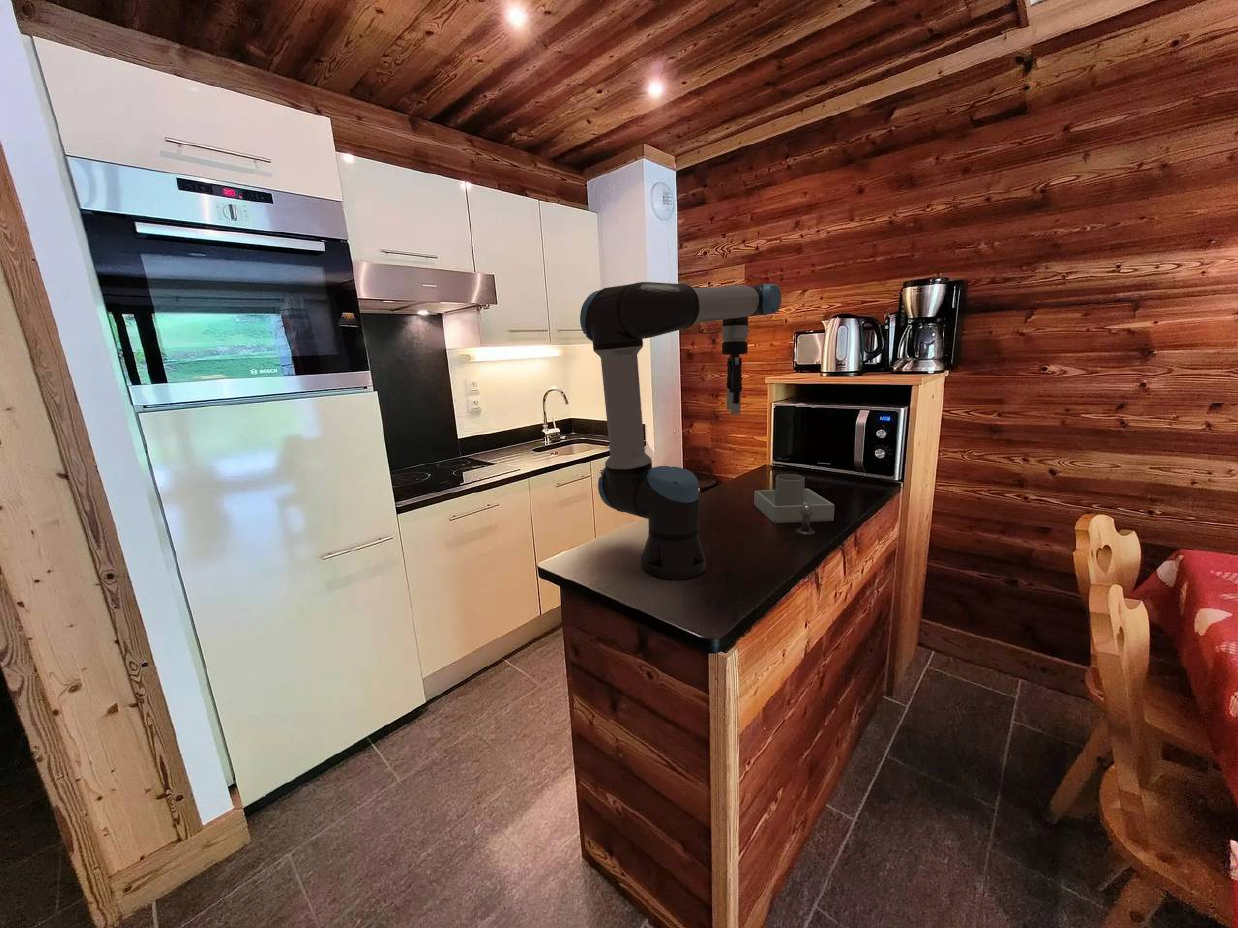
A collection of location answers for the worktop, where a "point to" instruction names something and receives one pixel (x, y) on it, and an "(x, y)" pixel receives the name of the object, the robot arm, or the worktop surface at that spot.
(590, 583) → the worktop surface
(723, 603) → the worktop surface
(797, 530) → the stud post
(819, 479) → the worktop surface
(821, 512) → the bin
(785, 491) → the mug
